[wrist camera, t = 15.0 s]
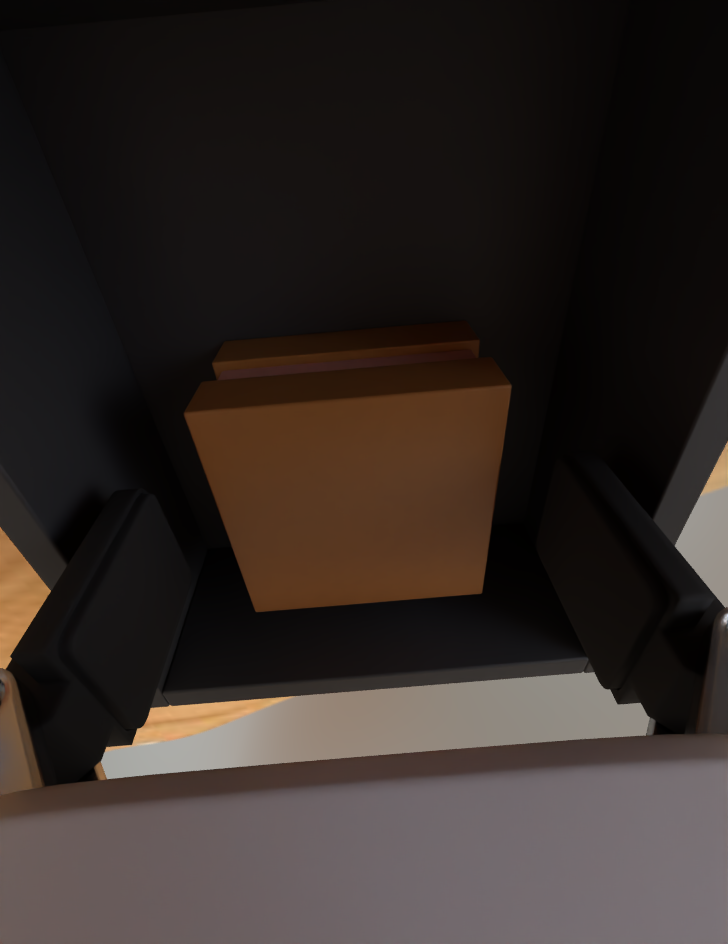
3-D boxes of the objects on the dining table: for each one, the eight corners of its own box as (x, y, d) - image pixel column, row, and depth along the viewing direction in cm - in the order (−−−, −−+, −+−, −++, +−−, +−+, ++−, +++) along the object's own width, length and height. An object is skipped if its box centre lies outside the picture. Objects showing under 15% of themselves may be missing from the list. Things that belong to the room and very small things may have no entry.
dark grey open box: (533, 521, 18) (611, 671, 13) (198, 549, 18) (142, 709, 13) (667, -80, 8) (1170, -420, 3) (-44, -14, 8) (-615, -246, 3)
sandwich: (271, 518, 16) (254, 613, 13) (224, 340, 12) (182, 413, 9) (453, 503, 16) (483, 594, 13) (466, 319, 12) (513, 384, 9)
